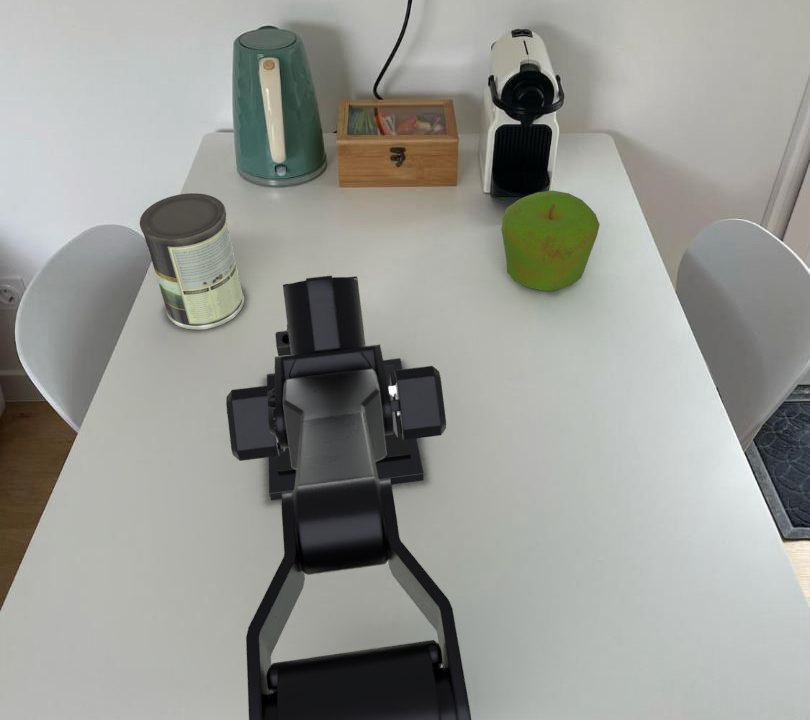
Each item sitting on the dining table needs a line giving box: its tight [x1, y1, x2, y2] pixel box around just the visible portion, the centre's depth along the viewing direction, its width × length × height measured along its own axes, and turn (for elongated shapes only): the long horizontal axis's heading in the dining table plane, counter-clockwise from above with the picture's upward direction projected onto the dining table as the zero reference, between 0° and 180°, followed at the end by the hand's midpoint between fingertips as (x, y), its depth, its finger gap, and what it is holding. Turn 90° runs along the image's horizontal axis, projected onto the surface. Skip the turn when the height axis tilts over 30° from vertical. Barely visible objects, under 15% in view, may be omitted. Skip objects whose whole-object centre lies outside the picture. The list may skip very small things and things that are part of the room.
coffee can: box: [139, 192, 245, 331], centre depth 103 cm, size 10×10×14 cm
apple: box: [501, 190, 600, 292], centre depth 106 cm, size 12×12×11 cm
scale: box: [266, 357, 425, 501], centre depth 90 cm, size 18×16×2 cm
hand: (338, 411), depth 80 cm, fingers open, 9 cm apart
